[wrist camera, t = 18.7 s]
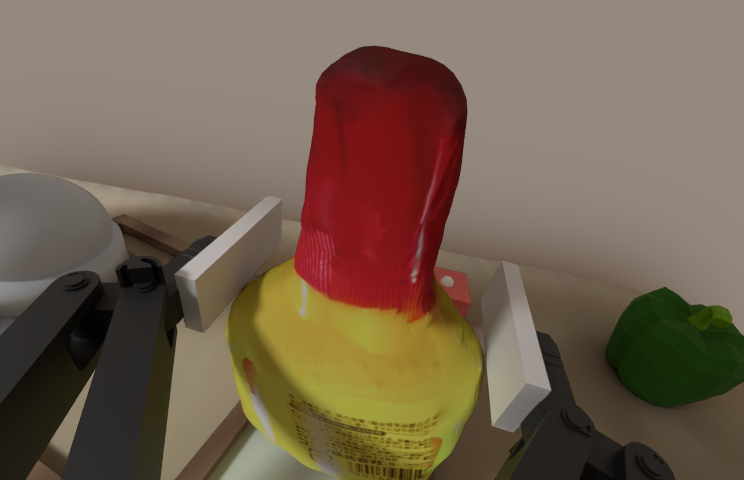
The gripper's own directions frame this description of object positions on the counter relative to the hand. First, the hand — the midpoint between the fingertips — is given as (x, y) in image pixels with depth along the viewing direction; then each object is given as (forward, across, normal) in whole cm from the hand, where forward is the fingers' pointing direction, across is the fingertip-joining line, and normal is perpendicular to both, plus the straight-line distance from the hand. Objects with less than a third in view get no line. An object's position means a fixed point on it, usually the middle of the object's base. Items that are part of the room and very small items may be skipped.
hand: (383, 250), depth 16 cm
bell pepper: (+10, +25, -13) cm, 30 cm away
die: (+10, +6, -13) cm, 17 cm away
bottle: (-4, 0, -11) cm, 12 cm away
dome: (0, -23, -11) cm, 26 cm away
